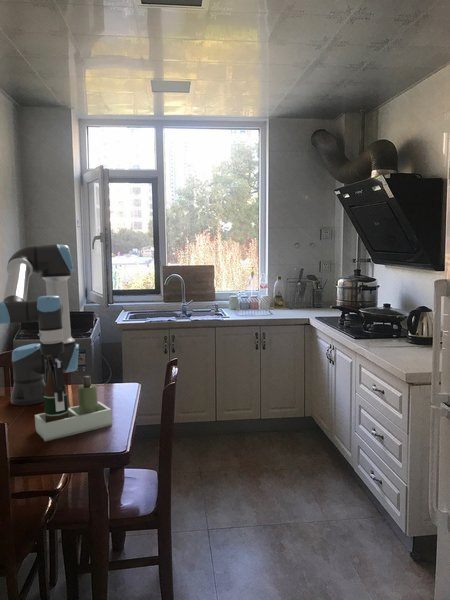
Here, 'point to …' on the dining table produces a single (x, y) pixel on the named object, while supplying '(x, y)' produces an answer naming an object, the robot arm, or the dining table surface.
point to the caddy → (73, 423)
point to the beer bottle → (53, 400)
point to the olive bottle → (87, 397)
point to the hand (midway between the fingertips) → (56, 407)
